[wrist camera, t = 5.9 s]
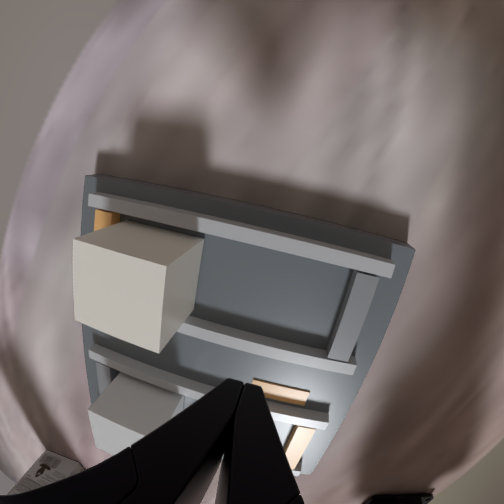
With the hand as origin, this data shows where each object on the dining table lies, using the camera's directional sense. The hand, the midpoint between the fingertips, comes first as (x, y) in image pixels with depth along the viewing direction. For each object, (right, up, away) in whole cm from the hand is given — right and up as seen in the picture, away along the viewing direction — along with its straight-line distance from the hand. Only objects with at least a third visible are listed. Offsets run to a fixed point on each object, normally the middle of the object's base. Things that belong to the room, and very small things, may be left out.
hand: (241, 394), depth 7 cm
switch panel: (-2, -2, +9) cm, 10 cm away
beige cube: (-4, +3, +7) cm, 9 cm away
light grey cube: (-6, -6, +10) cm, 13 cm away
